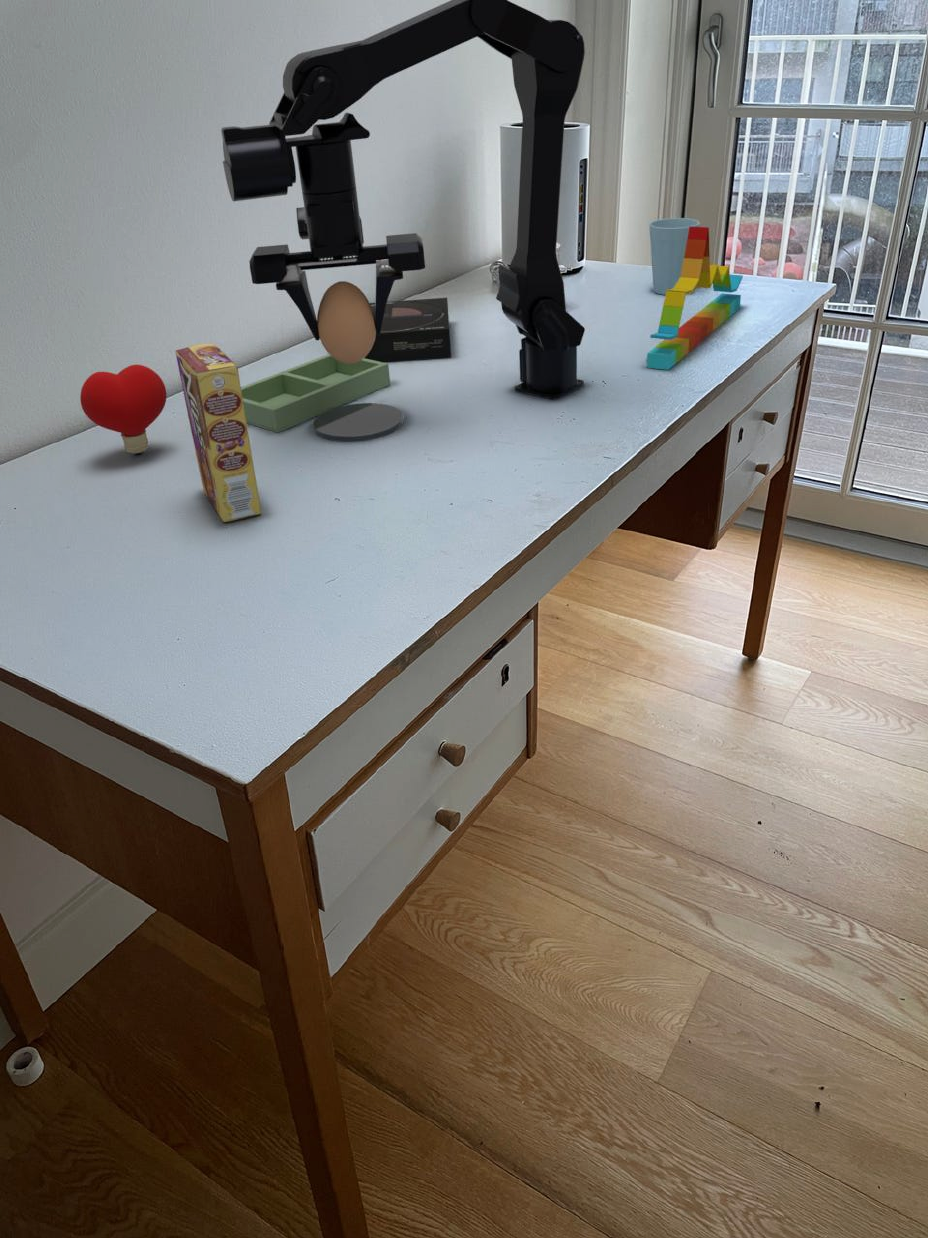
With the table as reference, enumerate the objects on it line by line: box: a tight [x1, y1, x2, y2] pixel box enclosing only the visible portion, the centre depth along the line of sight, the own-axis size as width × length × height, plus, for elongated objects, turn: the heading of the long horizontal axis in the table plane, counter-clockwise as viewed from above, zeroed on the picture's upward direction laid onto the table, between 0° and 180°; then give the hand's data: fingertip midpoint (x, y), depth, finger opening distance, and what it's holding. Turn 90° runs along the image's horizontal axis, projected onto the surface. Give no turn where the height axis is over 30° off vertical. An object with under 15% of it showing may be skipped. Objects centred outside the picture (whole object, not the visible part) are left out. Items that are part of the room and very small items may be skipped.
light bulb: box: [79, 364, 168, 457], centre depth 110 cm, size 9×7×10 cm
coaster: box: [312, 402, 405, 442], centre depth 117 cm, size 11×11×1 cm
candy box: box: [174, 343, 262, 523], centre depth 96 cm, size 9×4×15 cm, turn 26°
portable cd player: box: [365, 297, 452, 363], centre depth 142 cm, size 16×17×4 cm
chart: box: [645, 226, 744, 371], centre depth 134 cm, size 30×3×15 cm, turn 150°
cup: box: [648, 217, 701, 296], centre depth 155 cm, size 8×8×10 cm
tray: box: [241, 353, 391, 434], centre depth 124 cm, size 10×19×3 cm, turn 140°
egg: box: [316, 280, 376, 364], centre depth 111 cm, size 7×7×9 cm
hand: (348, 336), depth 112 cm, fingers closed on egg, 6 cm apart
